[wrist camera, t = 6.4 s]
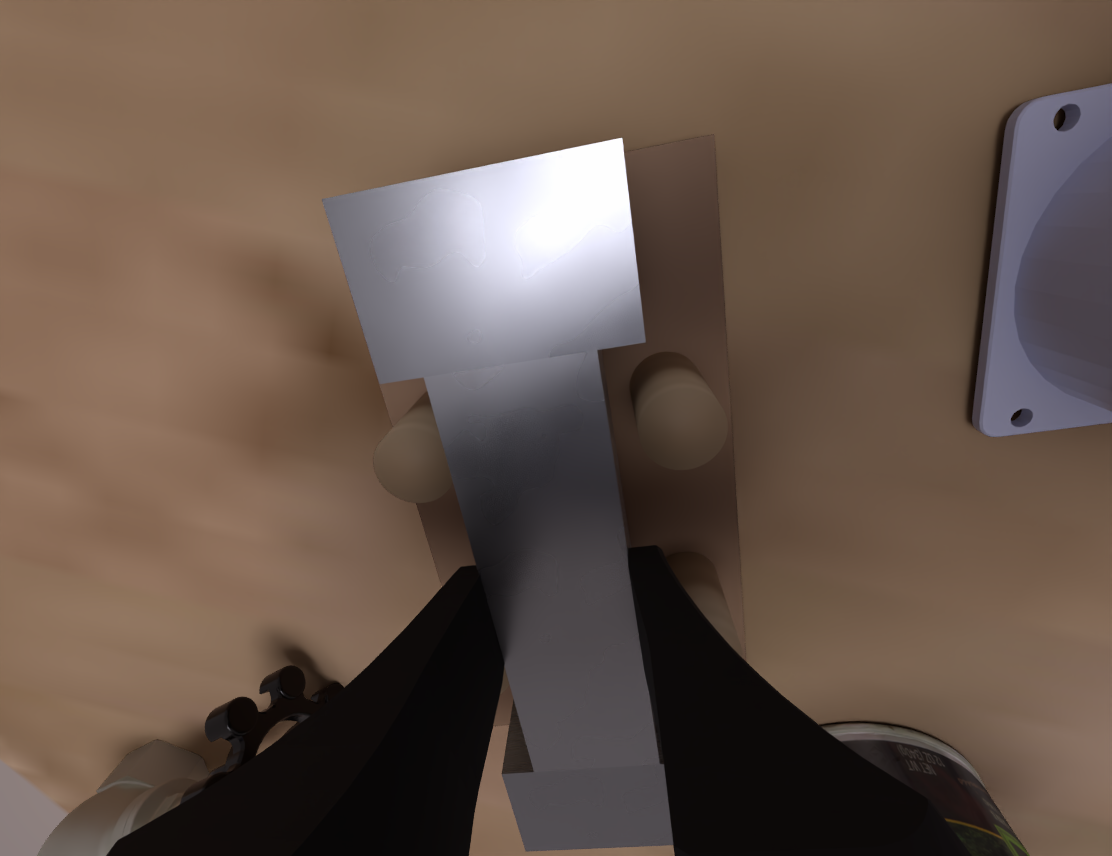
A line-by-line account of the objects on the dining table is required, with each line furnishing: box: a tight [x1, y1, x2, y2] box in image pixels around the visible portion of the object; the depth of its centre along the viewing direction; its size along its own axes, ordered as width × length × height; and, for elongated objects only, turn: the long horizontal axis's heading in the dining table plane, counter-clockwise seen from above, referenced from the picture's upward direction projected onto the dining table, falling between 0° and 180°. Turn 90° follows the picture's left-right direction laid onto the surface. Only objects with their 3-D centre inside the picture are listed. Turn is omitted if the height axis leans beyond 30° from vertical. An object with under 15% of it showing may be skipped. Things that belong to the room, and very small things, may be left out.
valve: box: [37, 665, 344, 856], centre depth 19 cm, size 7×7×12 cm
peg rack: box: [347, 134, 746, 726], centre depth 14 cm, size 17×9×4 cm, turn 10°
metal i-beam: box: [322, 138, 673, 851], centre depth 13 cm, size 16×5×4 cm, turn 10°
